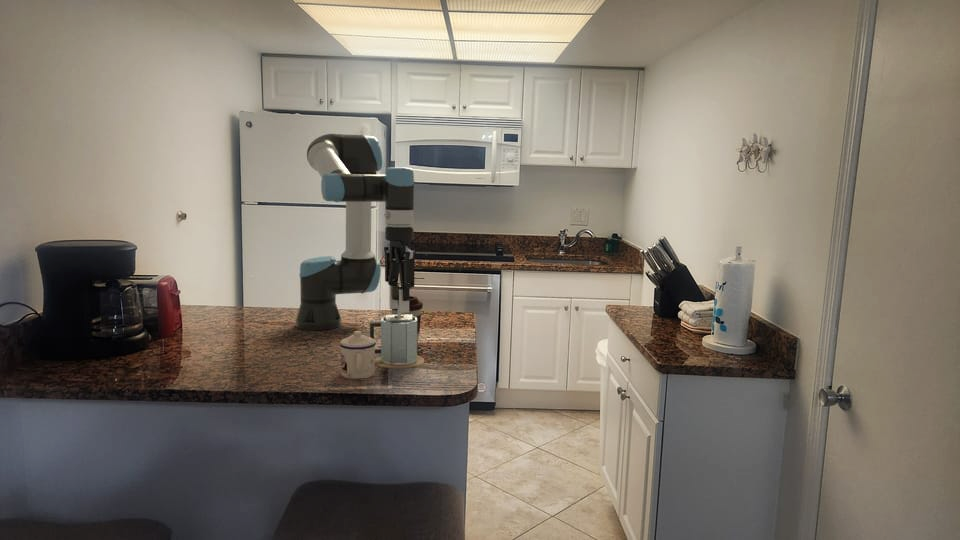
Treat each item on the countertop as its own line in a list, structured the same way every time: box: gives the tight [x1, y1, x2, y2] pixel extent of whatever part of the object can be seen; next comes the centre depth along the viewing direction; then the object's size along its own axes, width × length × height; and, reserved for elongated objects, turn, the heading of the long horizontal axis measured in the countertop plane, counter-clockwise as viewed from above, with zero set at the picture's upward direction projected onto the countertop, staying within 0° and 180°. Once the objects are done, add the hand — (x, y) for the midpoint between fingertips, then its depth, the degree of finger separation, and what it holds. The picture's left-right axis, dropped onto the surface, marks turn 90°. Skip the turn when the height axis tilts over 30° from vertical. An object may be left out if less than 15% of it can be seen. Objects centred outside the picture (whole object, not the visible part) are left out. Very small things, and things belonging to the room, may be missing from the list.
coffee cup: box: [391, 295, 424, 346], centre depth 184 cm, size 10×10×15 cm
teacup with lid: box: [339, 330, 377, 379], centre depth 155 cm, size 12×9×12 cm
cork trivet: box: [375, 354, 425, 369], centre depth 168 cm, size 14×14×1 cm
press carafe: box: [369, 314, 418, 366], centre depth 167 cm, size 10×13×12 cm
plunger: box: [392, 284, 401, 323], centre depth 166 cm, size 8×8×19 cm
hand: (399, 310), depth 166 cm, fingers open, 5 cm apart
